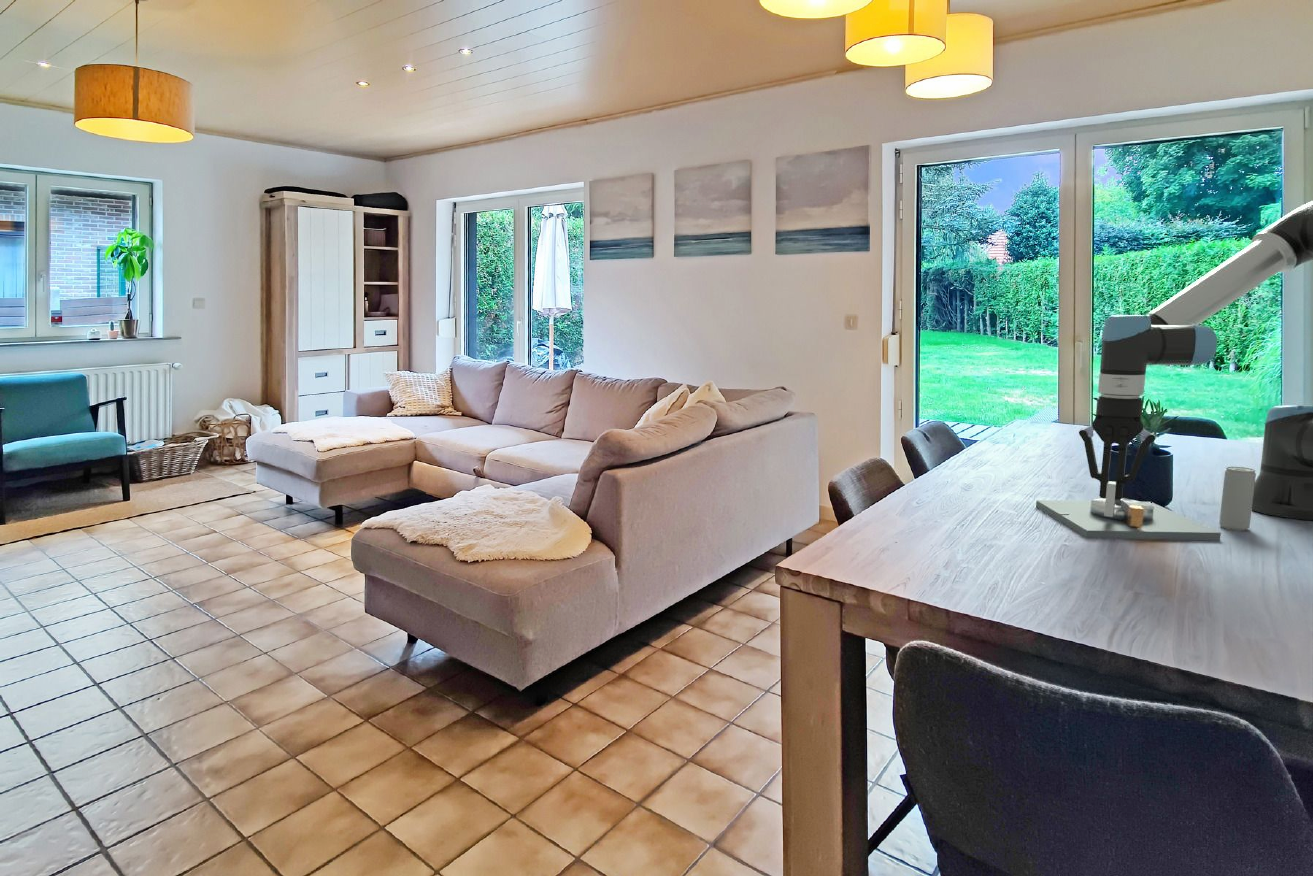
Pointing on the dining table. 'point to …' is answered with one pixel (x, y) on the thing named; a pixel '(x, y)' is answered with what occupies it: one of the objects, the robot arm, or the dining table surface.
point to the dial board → (1096, 526)
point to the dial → (1125, 510)
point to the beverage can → (1237, 498)
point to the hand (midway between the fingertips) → (1109, 514)
